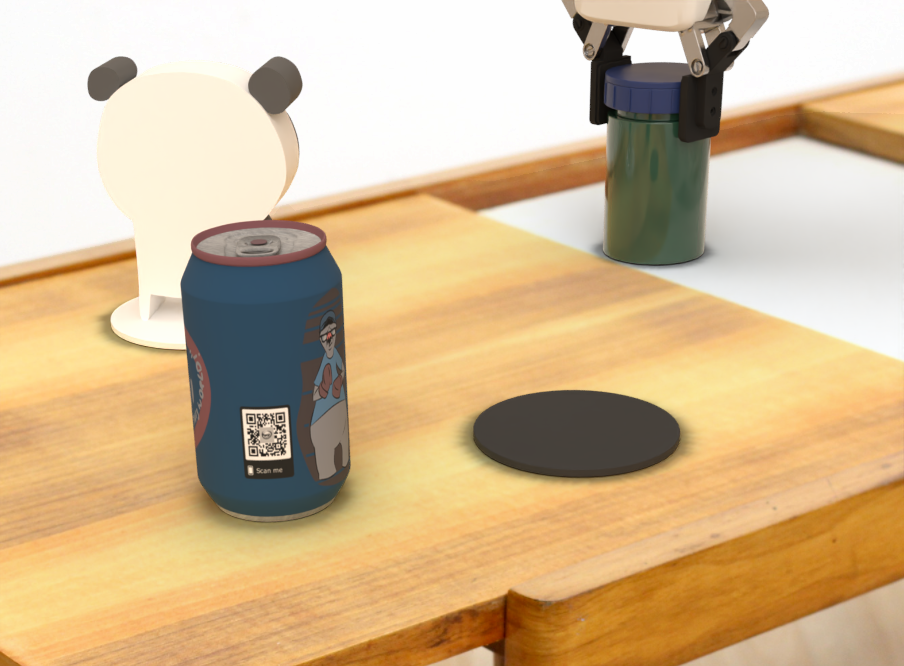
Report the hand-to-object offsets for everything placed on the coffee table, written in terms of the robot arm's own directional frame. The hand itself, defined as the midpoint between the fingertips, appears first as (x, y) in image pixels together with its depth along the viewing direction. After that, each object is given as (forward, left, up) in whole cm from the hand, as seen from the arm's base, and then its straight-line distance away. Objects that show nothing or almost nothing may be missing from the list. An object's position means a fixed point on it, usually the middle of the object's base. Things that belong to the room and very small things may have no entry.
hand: (653, 127), depth 99 cm
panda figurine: (+29, +7, -8) cm, 31 cm away
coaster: (+12, +29, -8) cm, 32 cm away
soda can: (+27, +33, -8) cm, 43 cm away
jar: (0, 0, -8) cm, 8 cm away
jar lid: (0, 0, +3) cm, 3 cm away
